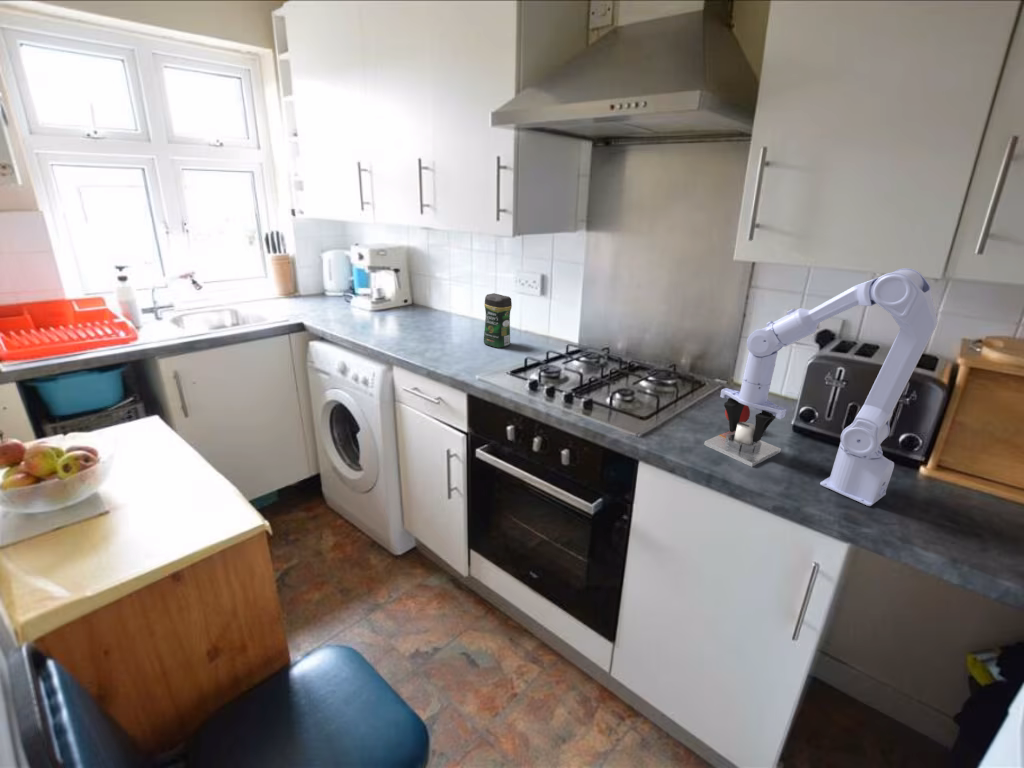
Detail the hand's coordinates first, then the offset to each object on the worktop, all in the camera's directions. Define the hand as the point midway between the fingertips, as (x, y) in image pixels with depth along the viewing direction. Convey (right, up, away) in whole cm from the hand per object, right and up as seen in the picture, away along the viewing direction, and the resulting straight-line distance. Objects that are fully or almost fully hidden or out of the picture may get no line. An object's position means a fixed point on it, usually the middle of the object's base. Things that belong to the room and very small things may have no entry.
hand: (744, 435), depth 120 cm
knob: (0, -2, +1) cm, 2 cm away
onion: (+3, +1, +13) cm, 13 cm away
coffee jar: (-59, +26, +71) cm, 96 cm away
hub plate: (0, -3, +1) cm, 3 cm away
